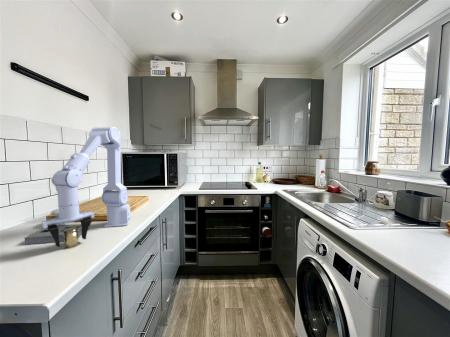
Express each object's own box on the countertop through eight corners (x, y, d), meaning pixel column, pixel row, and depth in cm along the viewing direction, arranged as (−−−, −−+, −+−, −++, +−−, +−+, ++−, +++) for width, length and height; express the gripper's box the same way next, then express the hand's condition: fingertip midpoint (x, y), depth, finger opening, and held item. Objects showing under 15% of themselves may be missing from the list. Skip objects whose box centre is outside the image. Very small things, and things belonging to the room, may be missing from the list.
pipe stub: (80, 242, 76) (79, 227, 75) (75, 247, 72) (74, 231, 71) (68, 244, 75) (67, 227, 74) (62, 249, 71) (60, 232, 70)
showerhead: (43, 211, 91) (63, 205, 101) (44, 227, 92) (64, 219, 102) (62, 211, 90) (80, 205, 100) (64, 227, 91) (81, 220, 101)
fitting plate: (88, 228, 90) (88, 222, 89) (75, 240, 78) (74, 233, 78) (45, 232, 86) (45, 225, 86) (24, 244, 74) (24, 237, 74)
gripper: (88, 198, 80) (90, 232, 81) (39, 206, 69) (42, 245, 70) (95, 201, 76) (97, 237, 77) (43, 210, 65) (46, 252, 66)
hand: (71, 241), depth 73 cm, fingers open, 7 cm apart
